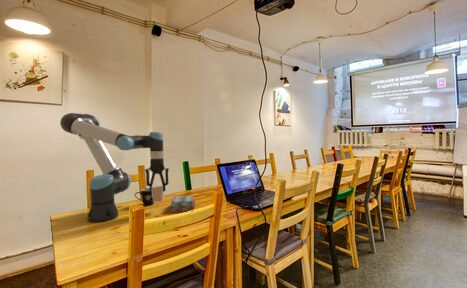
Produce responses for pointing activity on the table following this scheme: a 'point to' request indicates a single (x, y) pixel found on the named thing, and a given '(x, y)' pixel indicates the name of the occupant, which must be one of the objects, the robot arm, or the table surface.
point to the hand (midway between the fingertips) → (157, 196)
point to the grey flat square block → (182, 204)
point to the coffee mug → (146, 197)
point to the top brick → (157, 193)
